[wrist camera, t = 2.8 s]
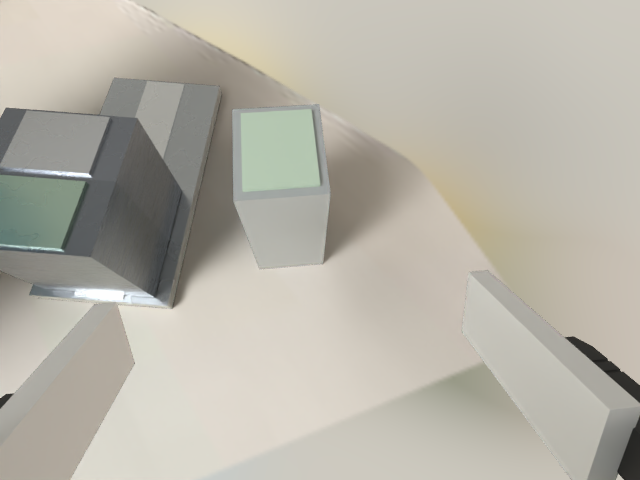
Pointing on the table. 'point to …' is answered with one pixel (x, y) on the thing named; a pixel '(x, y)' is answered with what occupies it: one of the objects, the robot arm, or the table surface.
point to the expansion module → (281, 183)
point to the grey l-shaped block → (105, 193)
